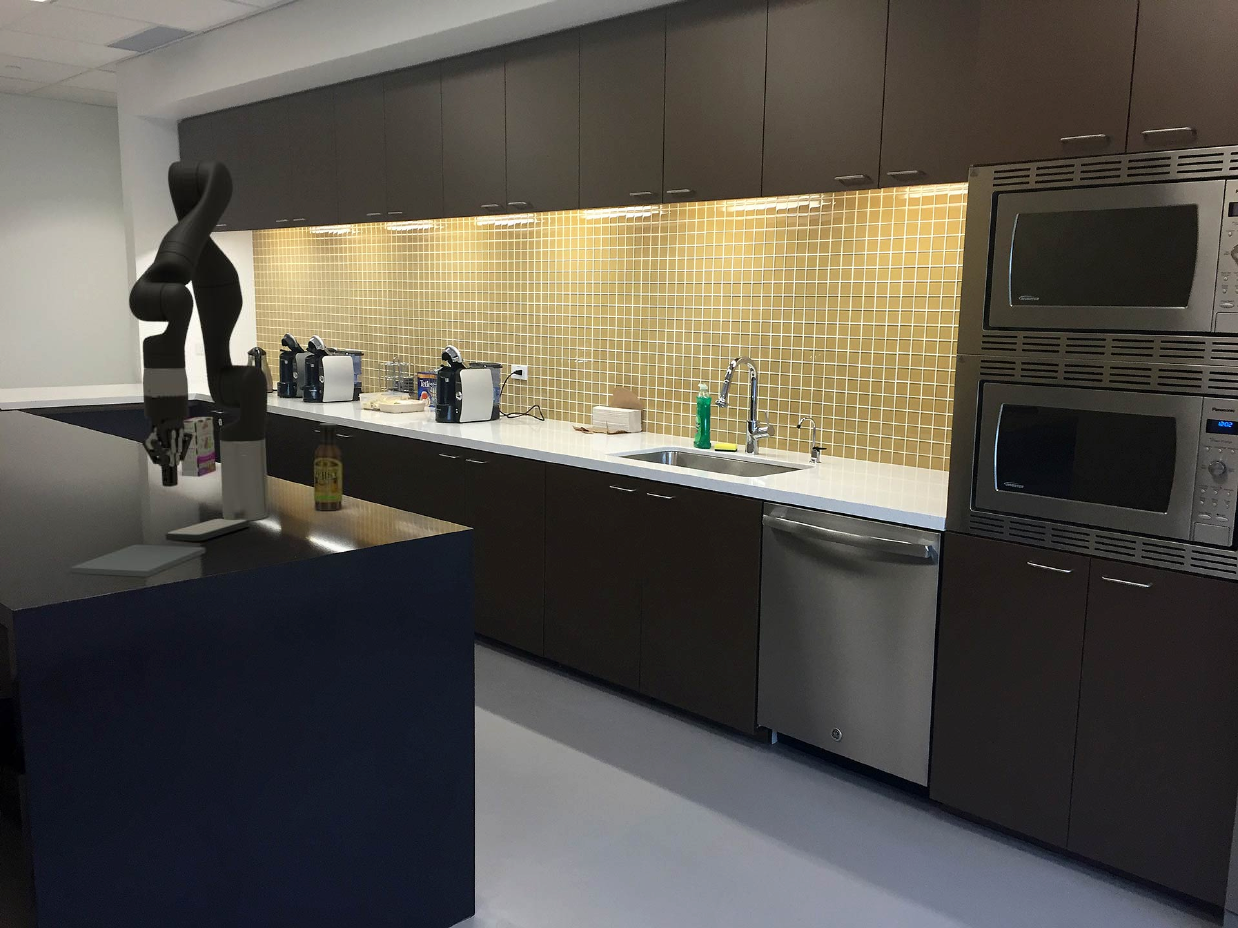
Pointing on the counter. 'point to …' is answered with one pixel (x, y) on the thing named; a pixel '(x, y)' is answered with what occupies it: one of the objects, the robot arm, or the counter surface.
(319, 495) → the sauce bottle
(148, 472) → the counter surface
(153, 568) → the mat
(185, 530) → the smartphone
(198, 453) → the candy bar box
